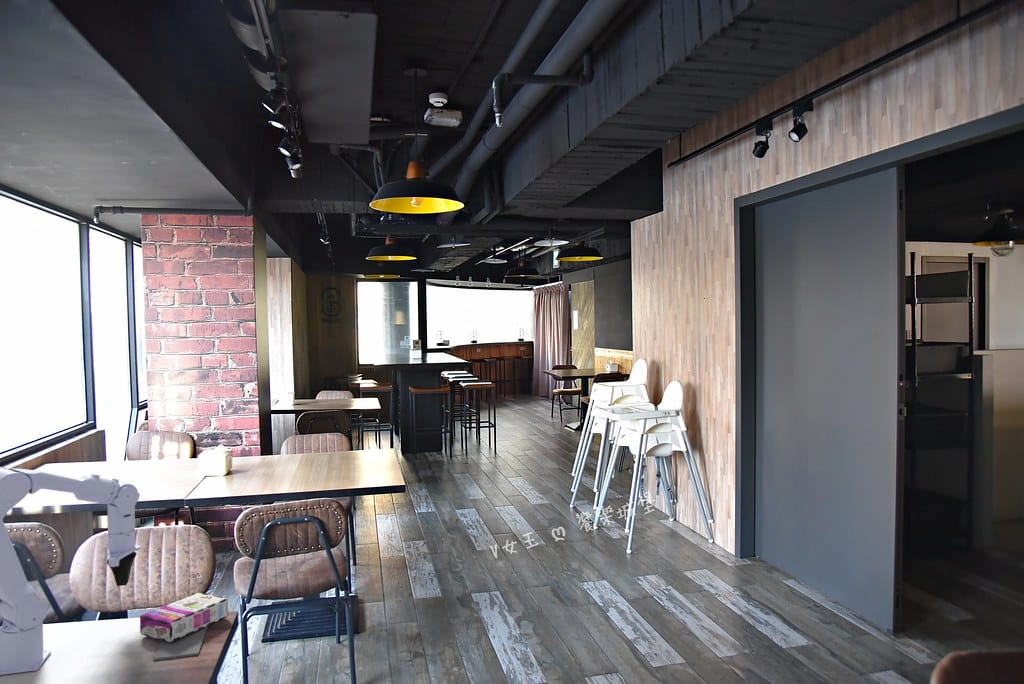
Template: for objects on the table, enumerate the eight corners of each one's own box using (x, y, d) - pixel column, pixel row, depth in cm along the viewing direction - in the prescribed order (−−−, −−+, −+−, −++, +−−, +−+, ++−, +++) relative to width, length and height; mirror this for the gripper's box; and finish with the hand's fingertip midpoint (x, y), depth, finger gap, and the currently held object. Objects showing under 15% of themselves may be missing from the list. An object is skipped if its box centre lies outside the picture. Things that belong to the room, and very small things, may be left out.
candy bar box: (170, 644, 151) (228, 617, 166) (169, 622, 151) (228, 597, 166) (139, 636, 156) (198, 610, 171) (138, 615, 156) (198, 591, 171)
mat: (153, 660, 146) (153, 658, 146) (166, 631, 159) (166, 629, 159) (198, 655, 149) (198, 652, 149) (207, 626, 162) (207, 624, 162)
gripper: (131, 539, 155) (132, 595, 156) (146, 520, 169) (147, 571, 170) (98, 541, 153) (99, 598, 154) (116, 522, 167) (116, 574, 167)
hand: (122, 584), depth 161 cm, fingers closed
